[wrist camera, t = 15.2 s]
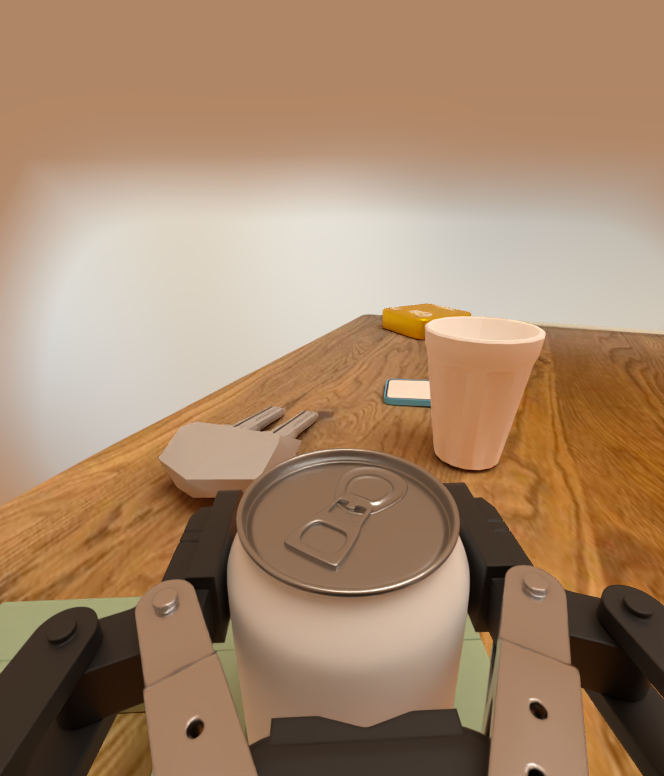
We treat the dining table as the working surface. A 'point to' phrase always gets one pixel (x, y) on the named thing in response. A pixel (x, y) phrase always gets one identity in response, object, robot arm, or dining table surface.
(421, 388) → the smartphone
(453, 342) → the cup
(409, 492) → the can
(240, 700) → the holder
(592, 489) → the dining table surface
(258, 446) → the turret
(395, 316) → the element tile
